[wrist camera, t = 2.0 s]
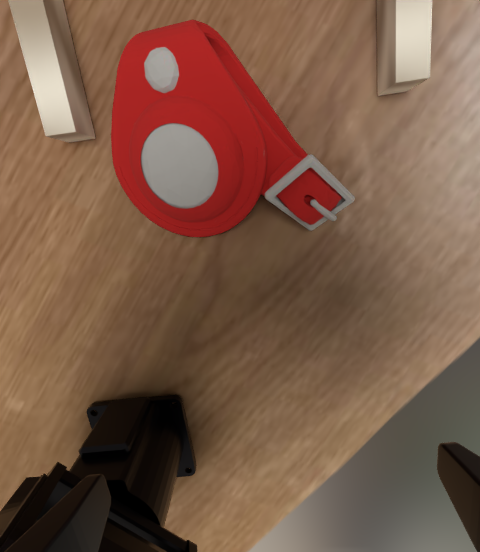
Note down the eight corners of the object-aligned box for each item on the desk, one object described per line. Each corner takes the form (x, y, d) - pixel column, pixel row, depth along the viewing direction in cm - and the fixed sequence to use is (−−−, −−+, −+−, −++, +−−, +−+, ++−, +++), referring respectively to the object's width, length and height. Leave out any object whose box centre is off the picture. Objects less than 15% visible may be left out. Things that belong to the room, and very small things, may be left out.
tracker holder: (130, 256, 17) (50, 39, 13) (163, 226, 21) (111, 50, 16) (358, 245, 14) (368, -53, 9) (350, 212, 18) (354, -13, 13)
